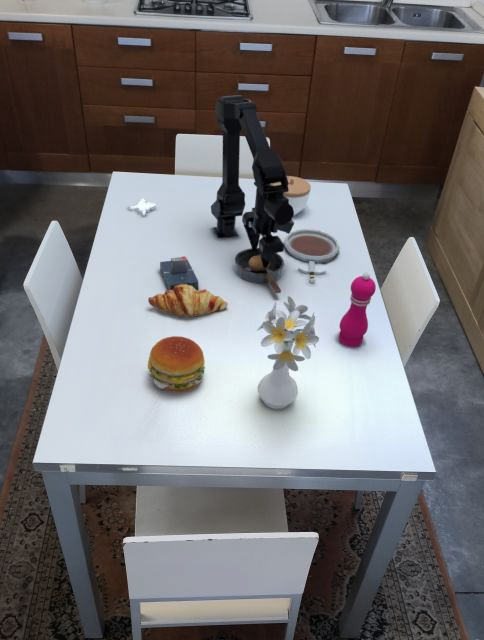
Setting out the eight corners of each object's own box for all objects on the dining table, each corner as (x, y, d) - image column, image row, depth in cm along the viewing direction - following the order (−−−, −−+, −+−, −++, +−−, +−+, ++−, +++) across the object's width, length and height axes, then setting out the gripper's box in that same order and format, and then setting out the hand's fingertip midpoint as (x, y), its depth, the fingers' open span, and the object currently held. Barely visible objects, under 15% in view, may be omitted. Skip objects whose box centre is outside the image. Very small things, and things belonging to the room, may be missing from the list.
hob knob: (172, 273, 178) (172, 260, 175) (171, 270, 179) (170, 257, 176) (186, 272, 179) (187, 258, 176) (185, 269, 180) (185, 255, 177)
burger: (183, 404, 147) (183, 371, 140) (136, 381, 151) (134, 348, 144) (215, 373, 155) (217, 340, 148) (169, 352, 160) (169, 319, 152)
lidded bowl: (263, 214, 211) (267, 181, 203) (276, 198, 220) (280, 166, 212) (299, 223, 209) (304, 191, 201) (311, 207, 217) (316, 175, 209)
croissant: (225, 313, 178) (226, 284, 175) (229, 319, 168) (230, 288, 166) (148, 312, 175) (148, 282, 173) (148, 317, 166) (148, 285, 163)
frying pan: (283, 275, 183) (285, 225, 202) (282, 283, 185) (283, 233, 204) (342, 281, 183) (338, 230, 202) (340, 289, 185) (337, 238, 204)
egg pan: (228, 261, 190) (228, 250, 188) (272, 256, 194) (274, 245, 191) (243, 287, 181) (244, 277, 179) (289, 281, 185) (291, 271, 182)
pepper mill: (366, 335, 170) (384, 269, 155) (361, 351, 165) (379, 284, 150) (339, 328, 171) (355, 262, 157) (333, 344, 166) (349, 276, 152)
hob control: (159, 271, 184) (159, 261, 182) (187, 267, 186) (187, 258, 184) (169, 294, 177) (169, 284, 174) (198, 290, 179) (199, 281, 176)
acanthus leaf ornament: (142, 201, 212) (142, 196, 211) (158, 208, 210) (158, 203, 208) (127, 209, 208) (127, 204, 206) (143, 216, 205) (143, 211, 204)
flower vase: (255, 431, 143) (267, 342, 125) (246, 376, 155) (255, 288, 137) (312, 430, 144) (332, 341, 126) (299, 375, 157) (315, 288, 138)
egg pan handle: (264, 277, 181) (264, 274, 181) (270, 276, 182) (270, 273, 181) (274, 293, 176) (275, 290, 175) (280, 292, 176) (281, 290, 176)
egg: (245, 267, 188) (247, 253, 185) (266, 264, 190) (267, 251, 186) (250, 275, 185) (252, 261, 182) (271, 272, 187) (273, 259, 184)
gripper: (305, 221, 169) (297, 273, 181) (280, 189, 181) (274, 239, 193) (266, 225, 167) (260, 277, 178) (243, 192, 178) (239, 243, 190)
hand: (259, 259), depth 185 cm, fingers open, 9 cm apart
